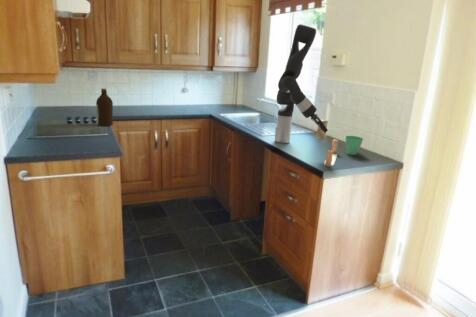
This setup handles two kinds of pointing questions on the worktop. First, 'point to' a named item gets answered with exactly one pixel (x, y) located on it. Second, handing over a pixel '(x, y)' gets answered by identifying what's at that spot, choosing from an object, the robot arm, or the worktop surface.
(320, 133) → the brown upright block
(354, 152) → the mug
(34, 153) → the worktop surface
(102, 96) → the olive oil
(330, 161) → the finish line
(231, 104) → the worktop surface
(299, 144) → the worktop surface
